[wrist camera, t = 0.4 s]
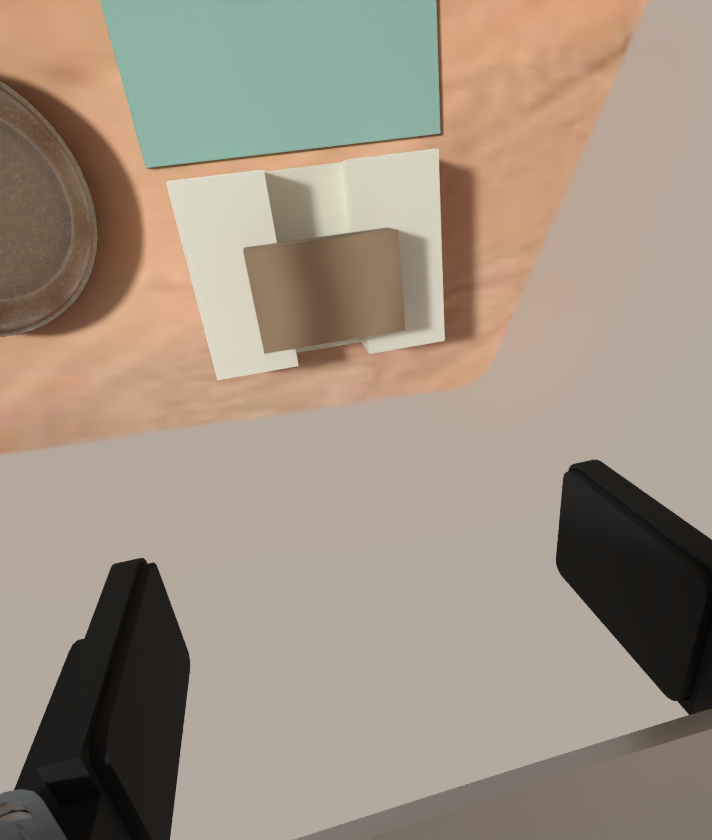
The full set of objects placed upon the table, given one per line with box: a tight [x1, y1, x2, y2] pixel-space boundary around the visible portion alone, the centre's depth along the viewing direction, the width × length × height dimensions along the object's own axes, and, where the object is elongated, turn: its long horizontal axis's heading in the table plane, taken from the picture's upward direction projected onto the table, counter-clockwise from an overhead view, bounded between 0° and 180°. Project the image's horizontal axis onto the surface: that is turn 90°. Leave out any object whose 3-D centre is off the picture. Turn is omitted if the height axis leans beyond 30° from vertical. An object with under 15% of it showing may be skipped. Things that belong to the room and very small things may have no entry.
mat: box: [100, 0, 440, 168], centre depth 28 cm, size 19×14×1 cm
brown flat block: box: [243, 227, 405, 354], centre depth 30 cm, size 9×6×2 cm, turn 96°
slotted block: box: [166, 148, 445, 380], centre depth 32 cm, size 16×12×4 cm
